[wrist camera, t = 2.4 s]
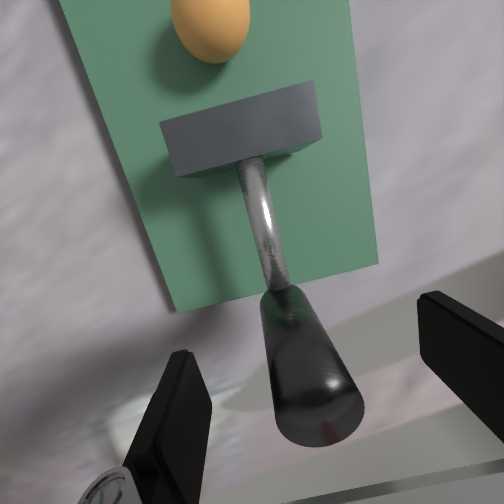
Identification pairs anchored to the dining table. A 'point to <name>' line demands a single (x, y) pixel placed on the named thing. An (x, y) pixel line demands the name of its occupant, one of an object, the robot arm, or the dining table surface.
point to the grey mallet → (275, 253)
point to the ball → (211, 27)
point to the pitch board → (227, 182)
